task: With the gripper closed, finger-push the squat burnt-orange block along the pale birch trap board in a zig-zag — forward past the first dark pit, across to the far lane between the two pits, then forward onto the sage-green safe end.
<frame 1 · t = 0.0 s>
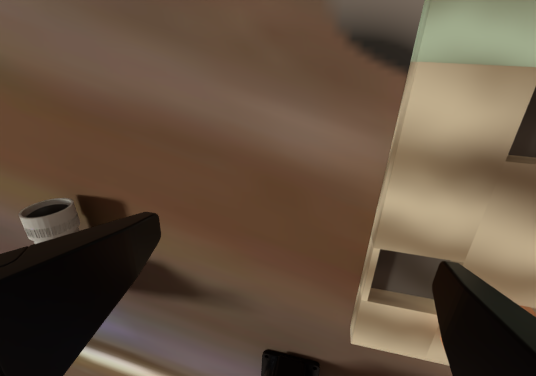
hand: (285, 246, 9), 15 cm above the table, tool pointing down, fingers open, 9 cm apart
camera: (91, 239, 33), on the table
trap board: (477, 185, 21), on the table
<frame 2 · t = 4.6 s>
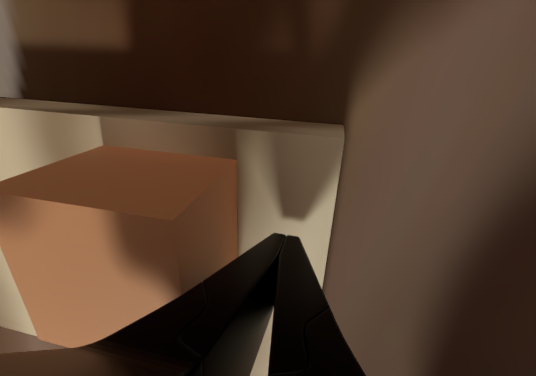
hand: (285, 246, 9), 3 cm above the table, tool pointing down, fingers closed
trap board: (20, 218, 16), on the table
orange block: (173, 216, 11), point 2 cm above the table, touching gripper
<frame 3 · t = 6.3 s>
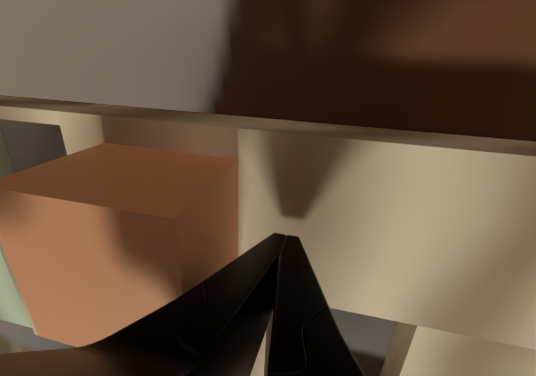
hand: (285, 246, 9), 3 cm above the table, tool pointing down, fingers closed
trap board: (168, 243, 14), on the table
orange block: (174, 214, 11), point 2 cm above the table, touching gripper, trap board
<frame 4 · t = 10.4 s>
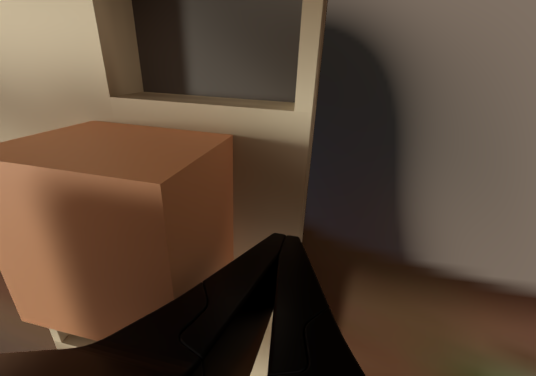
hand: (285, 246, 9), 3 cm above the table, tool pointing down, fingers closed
trap board: (154, 153, 12), on the table
orange block: (167, 196, 10), point 2 cm above the table, touching trap board
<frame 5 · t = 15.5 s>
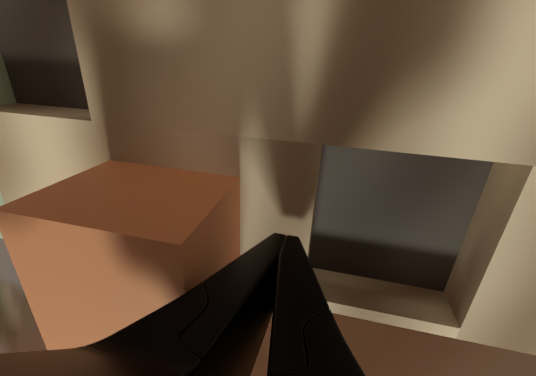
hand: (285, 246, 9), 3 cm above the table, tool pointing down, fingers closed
trap board: (184, 117, 11), on the table
orange block: (177, 228, 11), point 2 cm above the table, touching gripper, trap board
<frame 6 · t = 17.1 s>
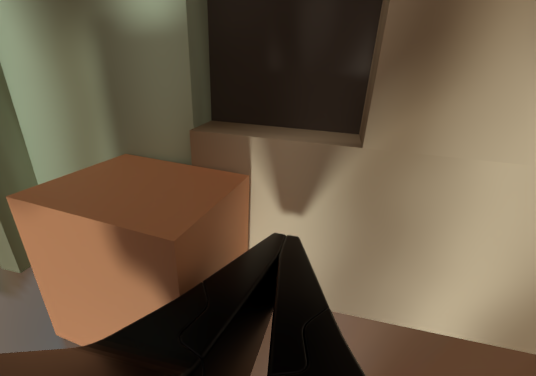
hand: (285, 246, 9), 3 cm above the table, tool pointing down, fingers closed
trap board: (435, 140, 10), on the table
orange block: (187, 225, 11), point 2 cm above the table, tilted 6°, touching gripper
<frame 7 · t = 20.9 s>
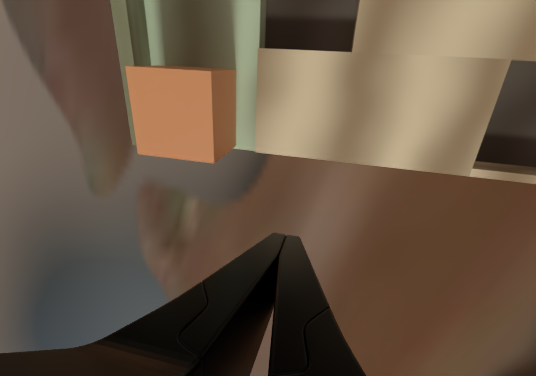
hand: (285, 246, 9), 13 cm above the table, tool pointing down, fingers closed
trap board: (392, 55, 18), on the table
orange block: (201, 106, 20), point 2 cm above the table, touching trap board
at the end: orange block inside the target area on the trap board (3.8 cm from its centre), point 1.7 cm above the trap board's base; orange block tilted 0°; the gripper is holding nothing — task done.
